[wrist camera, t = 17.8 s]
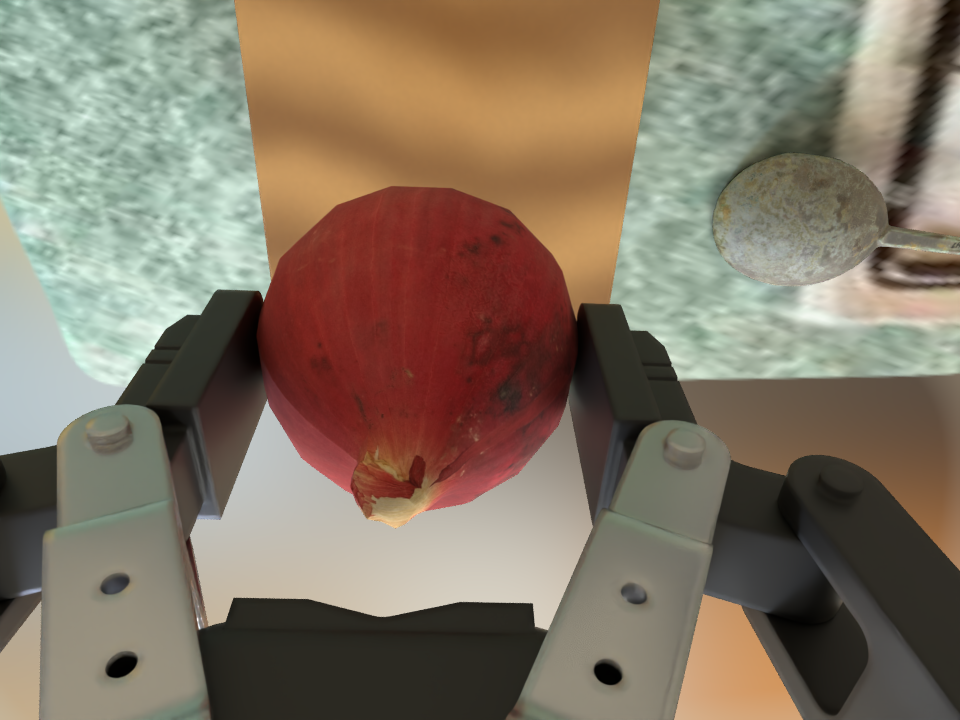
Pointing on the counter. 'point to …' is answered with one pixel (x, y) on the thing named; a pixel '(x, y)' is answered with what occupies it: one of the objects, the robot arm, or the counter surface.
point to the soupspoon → (808, 221)
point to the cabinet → (452, 112)
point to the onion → (417, 348)
